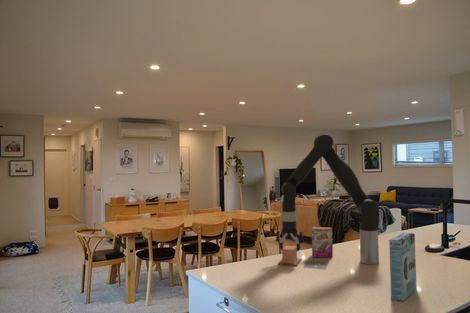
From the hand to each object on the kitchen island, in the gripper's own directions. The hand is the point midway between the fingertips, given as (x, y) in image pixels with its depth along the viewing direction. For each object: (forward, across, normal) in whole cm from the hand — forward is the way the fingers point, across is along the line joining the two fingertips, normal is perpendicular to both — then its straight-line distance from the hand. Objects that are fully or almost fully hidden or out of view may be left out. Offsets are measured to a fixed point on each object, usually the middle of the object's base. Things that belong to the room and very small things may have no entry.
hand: (289, 250), depth 194 cm
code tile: (+7, -14, 0) cm, 15 cm away
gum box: (+7, -53, +31) cm, 62 cm away
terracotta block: (+6, 0, 0) cm, 6 cm away
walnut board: (+7, 0, 0) cm, 7 cm away
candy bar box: (+7, -15, -18) cm, 24 cm away
